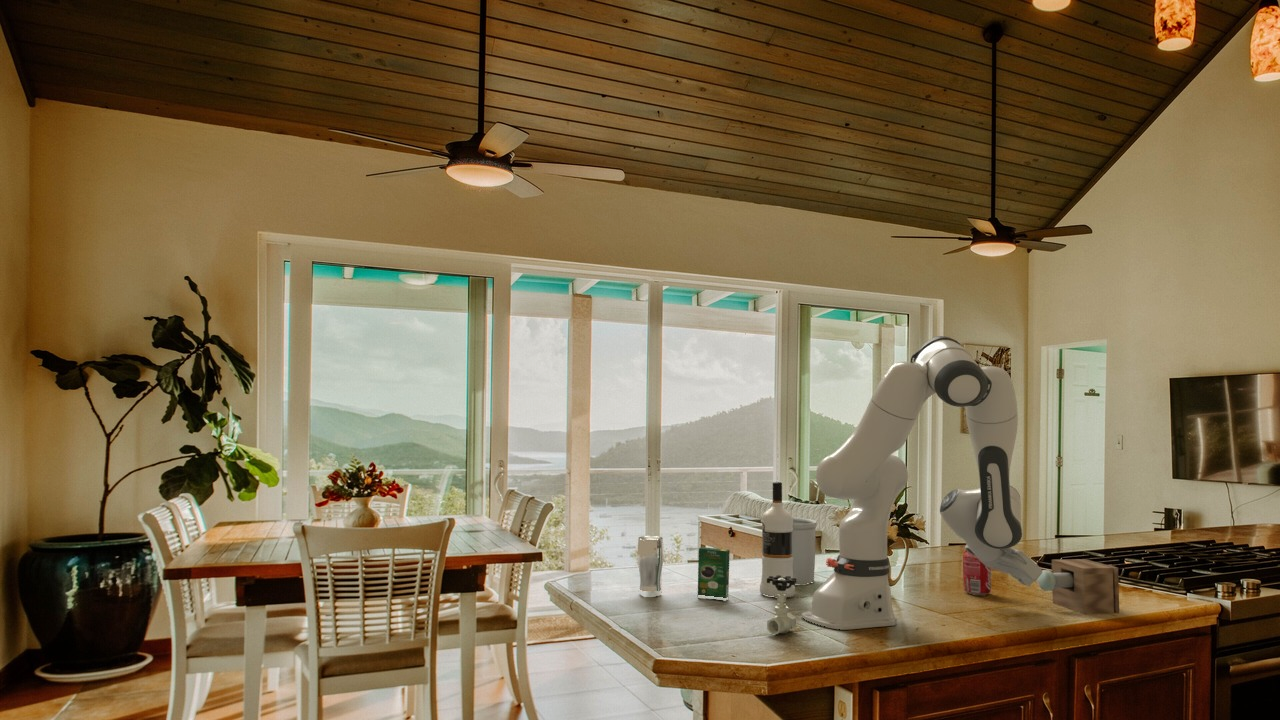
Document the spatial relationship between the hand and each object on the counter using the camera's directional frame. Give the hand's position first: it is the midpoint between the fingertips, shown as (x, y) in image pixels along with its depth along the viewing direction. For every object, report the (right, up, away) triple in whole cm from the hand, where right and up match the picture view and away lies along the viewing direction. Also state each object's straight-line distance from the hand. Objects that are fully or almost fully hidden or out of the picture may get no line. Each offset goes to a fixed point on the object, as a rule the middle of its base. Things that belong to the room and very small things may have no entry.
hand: (1027, 583), depth 202 cm
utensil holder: (-53, -8, +32) cm, 63 cm away
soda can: (-5, -8, +17) cm, 20 cm away
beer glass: (-95, -7, +12) cm, 96 cm away
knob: (+9, -2, +2) cm, 10 cm away
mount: (+16, -7, +2) cm, 17 cm away
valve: (-66, -4, -25) cm, 71 cm away
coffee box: (-78, -6, +7) cm, 79 cm away
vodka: (-61, -7, +13) cm, 62 cm away
